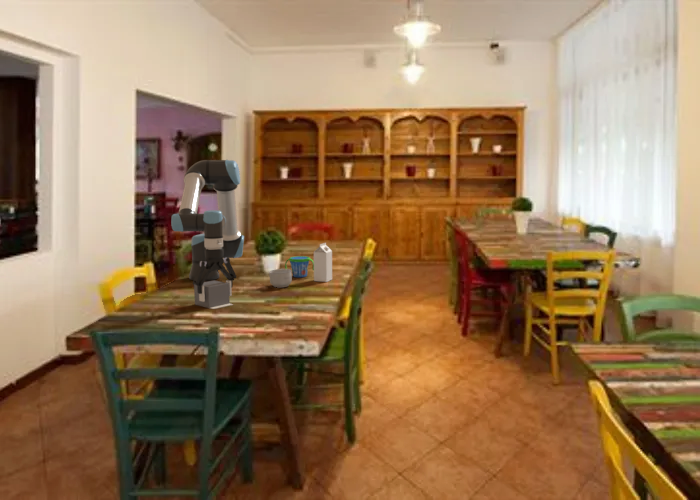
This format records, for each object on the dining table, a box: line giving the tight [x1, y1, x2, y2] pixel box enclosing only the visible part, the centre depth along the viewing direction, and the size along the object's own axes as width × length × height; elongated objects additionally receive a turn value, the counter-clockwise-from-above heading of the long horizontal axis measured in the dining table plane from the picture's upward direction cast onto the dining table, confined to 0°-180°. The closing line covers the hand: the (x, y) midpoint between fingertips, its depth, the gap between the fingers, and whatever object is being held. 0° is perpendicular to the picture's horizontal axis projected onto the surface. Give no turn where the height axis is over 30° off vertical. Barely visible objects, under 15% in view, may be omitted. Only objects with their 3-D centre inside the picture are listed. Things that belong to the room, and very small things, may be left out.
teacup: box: [268, 268, 293, 289], centre depth 282 cm, size 14×11×8 cm
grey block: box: [193, 279, 230, 309], centre depth 244 cm, size 10×10×9 cm
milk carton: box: [313, 242, 333, 283], centre depth 295 cm, size 7×7×19 cm
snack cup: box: [284, 255, 314, 278], centre depth 306 cm, size 16×10×10 cm
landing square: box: [210, 302, 234, 310], centre depth 243 cm, size 10×10×1 cm
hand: (215, 298), depth 243 cm, fingers open, 13 cm apart
